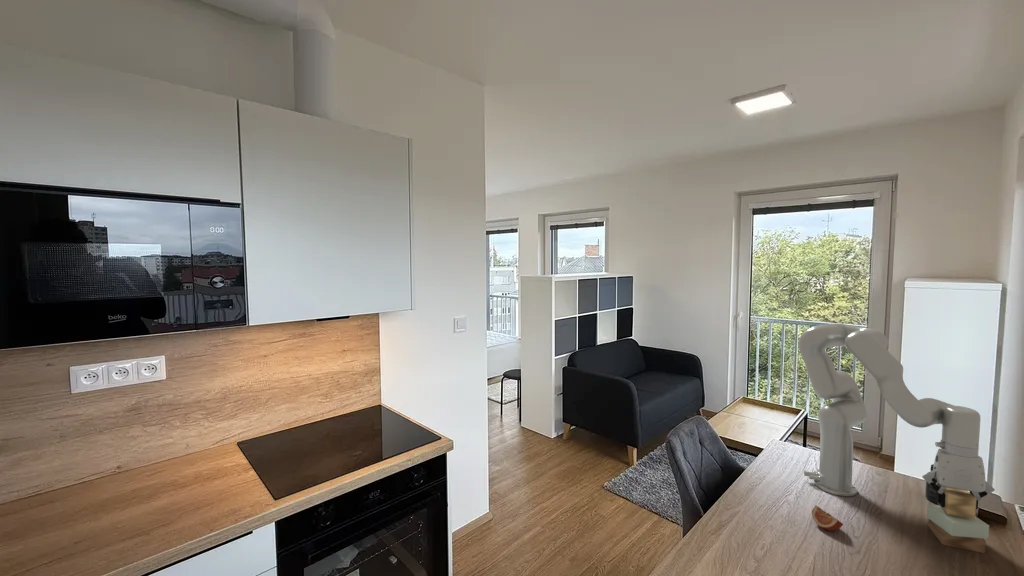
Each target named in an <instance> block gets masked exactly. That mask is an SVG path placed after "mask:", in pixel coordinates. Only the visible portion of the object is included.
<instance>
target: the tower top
mask: <svg viewBox="0 0 1024 576" xmlns="http://www.w3.org/2000/svg"><path fill="white" fill-rule="evenodd" d="M926 510H927V512H926V518H927V519H928V520H929V519H930V520H932V521H933V522H934V523H936V524H937V525H938V526H939V527H941V528H942V529H943V530H945V531H946V532H947V533H949V534H950V535H951V536H960V537H972V538H983V539H984V540H988V539H989V532H990V525H989V524H988V523H986V522H984V521H983V520H981V519H980V518H979V517H977V516H976V515H975V519H973V518H967V517H962V516H957V515H951V514H947V513H946V512H945V511H944V510H943V509H942V507H941V506H940V505H939V504H937V505H935V504H927V509H926Z"/></svg>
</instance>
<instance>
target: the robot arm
mask: <svg viewBox="0 0 1024 576" xmlns="http://www.w3.org/2000/svg"><path fill="white" fill-rule="evenodd" d="M888 344H889V340H888V338H887V336H886V335H885V334H884V333H883V332H881V331H880V330H877V329H875V328H869V327H865V326H864V327H863V326H856V325H852V324H851V325H850V324H845V323H827V324H820V325H815V326H812V327H809V328H808V329H806V330H804V332H802V334H801V335H800V337H799V339H798V349H799V352H800V355H801V357H802V359H803V362H804V365H805V369H806V372H807V374H808V377H809V379H810V384H811V386H812V389H813V391H814V393H815V394H816V396H818V397H819V398H821V399H824V400H833V402H829V403H826V404H825V405H823V406H822V407H821V408H820V409H819V412H818V415H817V417H818V422H819V431H820V432H819V433H820V434H819V437H820V439H819V441H820V442H819V443H820V444H819V469H816V471H810V470H803V476H804V477H808V479H809V480H813V483H814V485H815V486H816V487H817V488H819V489H820V490H821V491H824V492H825V493H829V494H832V495H834V496H840V497H854V496H856V495H857V493H858V488H857V487H856V486H855V485H854V484H853V483H852V482H853V464H854V463H853V461H854V460H853V459H854V439H853V436H852V431H851V429H852V428H853V427H855V426H860V425H862V424H863V423H864V422H866V420H867V417H868V413H867V409H866V406H865V403H864V400H863V397H862V394H861V392H860V389H859V387H858V385H857V383H856V380H855V379H854V378H853V376H852V375H851V374H849V373H848V372H846V371H844V370H840V369H836V368H835V366H834V362H833V360H832V358H831V356H830V354H828V353H827V351H826V349H829V348H834V347H844V348H847V350H848V351H849V352H850V353H851V355H853V356H854V358H855V359H856V360H857V361H858V362H859V363H860V364H861V365H862V366H863V367H864V368H865V369H866V370H867V372H869V374H871V375H872V377H873V378H874V379H875V381H876V383H877V386H878V388H879V391H880V393H881V396H882V398H884V401H886V403H887V404H888V406H890V408H891V409H892V410H893V411H894V412H895V413H896V414H897V415H898V416H899V418H900V419H902V420H903V421H904V422H906V423H907V424H909V425H911V426H912V427H915V428H928V427H931V426H934V425H939V424H940V425H942V426H941V427H942V429H941V439H940V441H939V442H937V441H935V443H934V445H935V447H936V448H938V450H937V451H936V454H935V457H934V462H933V464H934V467H933V470H932V471H931V470H930V471H928V472H929V473H928V472H927V473H926V474H924V475H922V479H923V480H924V481H925V483H926V482H928V483H929V484H930V485H931V486H932V487H933V488H934V489H935V490H936V498H935V499H936V501H937V502H938V504H937V505H939V506H941V507H945V494H944V491H945V490H946V488H947V487H949V488H955V489H960V490H967V491H968V492H969V493H971V494H972V495H973V496H974V497H975V498H976V510H978V509H979V501H980V500H981V499H982V498H984V497H986V496H988V494H991V493H993V492H995V488H994V487H993V486H992V485H991V484H990V483H989V482H987V481H986V472H985V465H984V461H983V458H982V457H981V456H979V449H980V446H979V445H980V431H981V414H980V413H979V412H978V411H977V410H976V409H973V408H970V407H965V406H960V405H954V404H951V403H948V402H946V401H943V400H939V399H937V398H936V399H935V398H932V397H931V398H930V397H925V398H920V399H918V398H917V397H916V396H915V395H914V394H912V392H911V391H910V389H909V388H908V387H907V386H906V384H905V382H904V381H905V380H904V376H903V375H904V367H903V365H902V363H901V362H900V361H899V360H898V359H897V358H896V357H895V356H894V355H893V354H892V353H891V352H890V351H888V349H886V348H887V347H888ZM932 478H934V479H936V480H937V483H936V484H935V483H934V482H933V481H932Z"/></svg>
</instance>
